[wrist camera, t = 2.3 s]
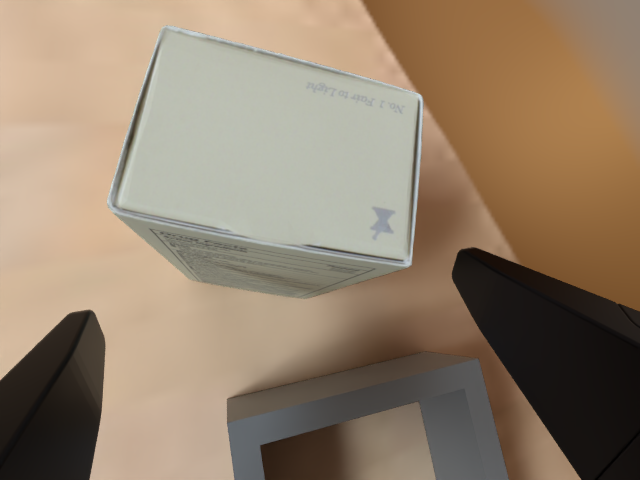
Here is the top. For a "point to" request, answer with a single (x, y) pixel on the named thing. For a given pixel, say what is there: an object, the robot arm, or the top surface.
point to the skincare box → (269, 168)
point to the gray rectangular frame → (375, 396)
